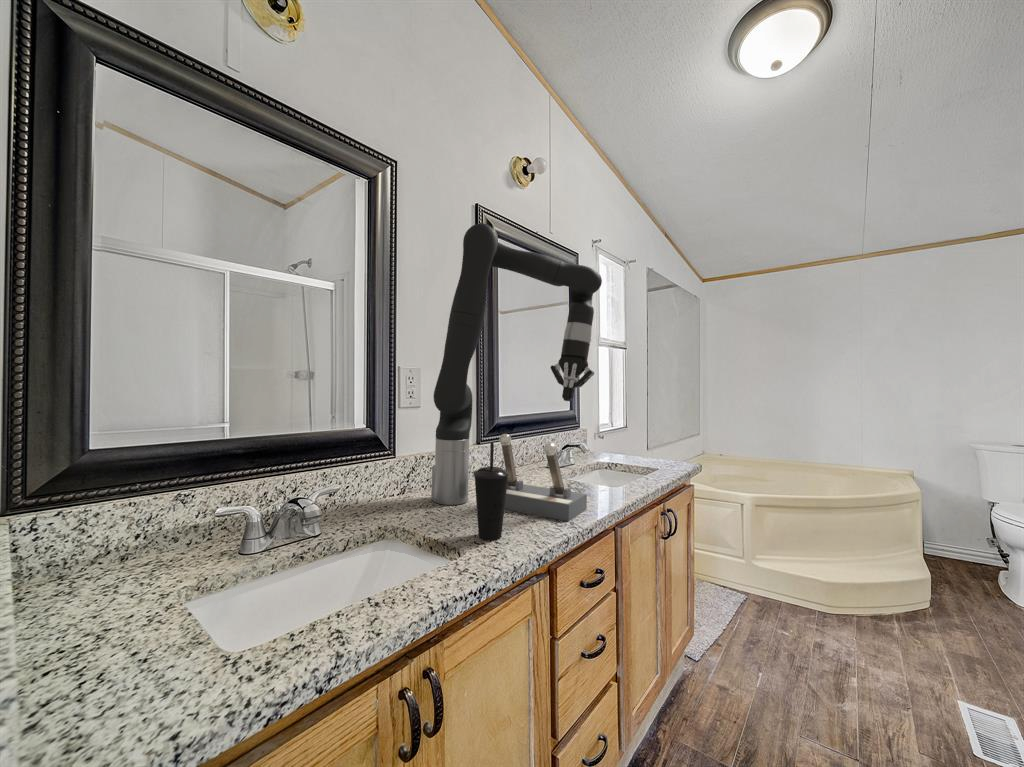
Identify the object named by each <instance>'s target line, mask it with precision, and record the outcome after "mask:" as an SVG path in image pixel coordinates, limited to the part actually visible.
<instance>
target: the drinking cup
mask: <svg viewBox="0 0 1024 767" xmlns="http://www.w3.org/2000/svg"><path fill="white" fill-rule="evenodd" d="M494 446H495V443H494V441H492V442H490V446H489V447H490V452H489V454H490V456H489V458H490V459H489V466H484V467H481V468H479V469H477V470H474V471H473V473H472V474H473V476H474V486H475V499H476V500H475V502H476V513H477V514H476V516H477V532H478V538H479V539H480V540H482V539H483V540H484V541H488V540H493V541H497V539H498V540H500V539H501V538H502V536H503V534H502V533H503V524H504V517H505V516H504V514H505V509H504V508H505V499H506V490H507V481H508V476H509V472H508V471H506V469H504V468H502V467H498V466H494V450H495V449H494ZM483 540H482V541H483Z"/></svg>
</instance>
